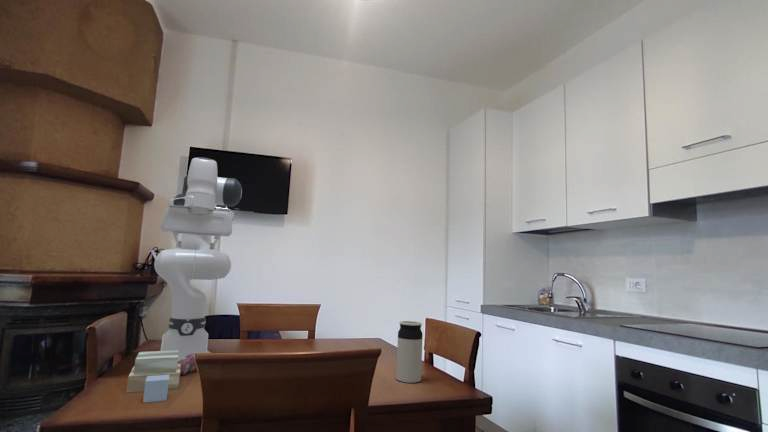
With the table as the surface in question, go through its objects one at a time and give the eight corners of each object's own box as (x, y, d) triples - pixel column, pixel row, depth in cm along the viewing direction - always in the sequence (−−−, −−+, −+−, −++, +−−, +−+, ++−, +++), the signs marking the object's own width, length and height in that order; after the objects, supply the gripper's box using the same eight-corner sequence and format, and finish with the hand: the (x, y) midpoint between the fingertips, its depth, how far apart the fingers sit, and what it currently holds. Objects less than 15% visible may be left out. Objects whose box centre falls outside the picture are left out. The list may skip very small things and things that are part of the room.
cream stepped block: (131, 380, 112) (135, 351, 113) (179, 377, 117) (182, 349, 118) (126, 392, 101) (130, 360, 102) (178, 388, 106) (181, 357, 107)
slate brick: (144, 396, 99) (147, 376, 100) (167, 394, 101) (169, 374, 102) (142, 402, 95) (145, 381, 95) (166, 400, 97) (168, 379, 97)
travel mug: (412, 385, 120) (414, 324, 123) (391, 379, 125) (393, 321, 127) (425, 380, 126) (427, 322, 129) (405, 375, 131) (407, 320, 134)
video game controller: (176, 382, 117) (187, 361, 117) (165, 373, 118) (176, 353, 118) (198, 374, 127) (208, 355, 127) (187, 366, 128) (198, 347, 128)
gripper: (233, 211, 132) (230, 251, 129) (164, 204, 123) (158, 247, 120) (235, 206, 127) (232, 248, 123) (163, 199, 118) (158, 244, 114)
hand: (195, 248), depth 121 cm, fingers open, 8 cm apart
